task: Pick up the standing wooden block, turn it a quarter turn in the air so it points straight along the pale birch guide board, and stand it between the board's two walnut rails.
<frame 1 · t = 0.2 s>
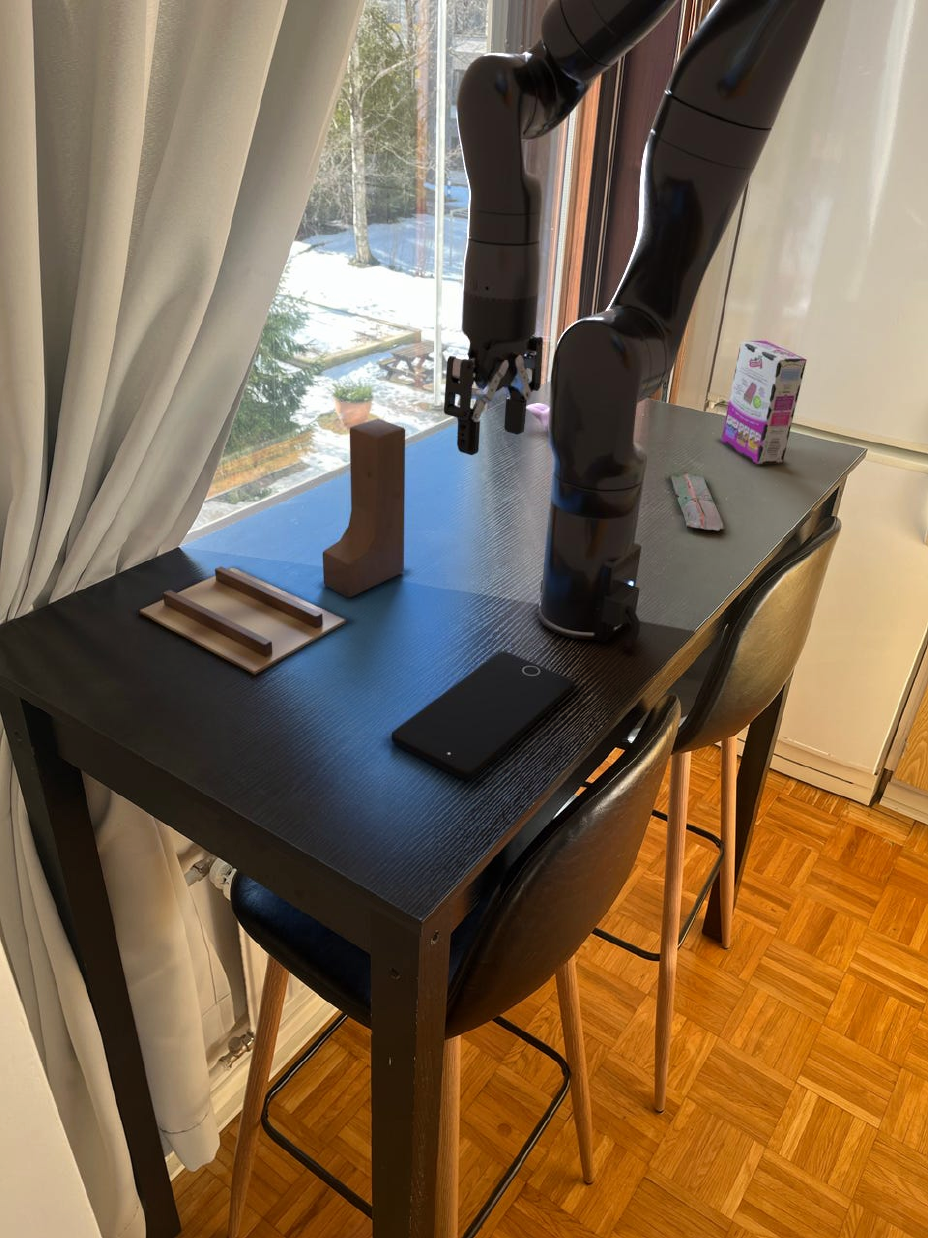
hand: (491, 442, 102), 17 cm above the table, tool pointing down, fingers open, 8 cm apart
candy bar box: (751, 453, 152), on the table
guide: (242, 618, 102), on the table
map: (695, 504, 133), on the table
wooden block: (364, 580, 111), on the table
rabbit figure: (558, 436, 155), on the table
cell phone: (486, 716, 89), on the table
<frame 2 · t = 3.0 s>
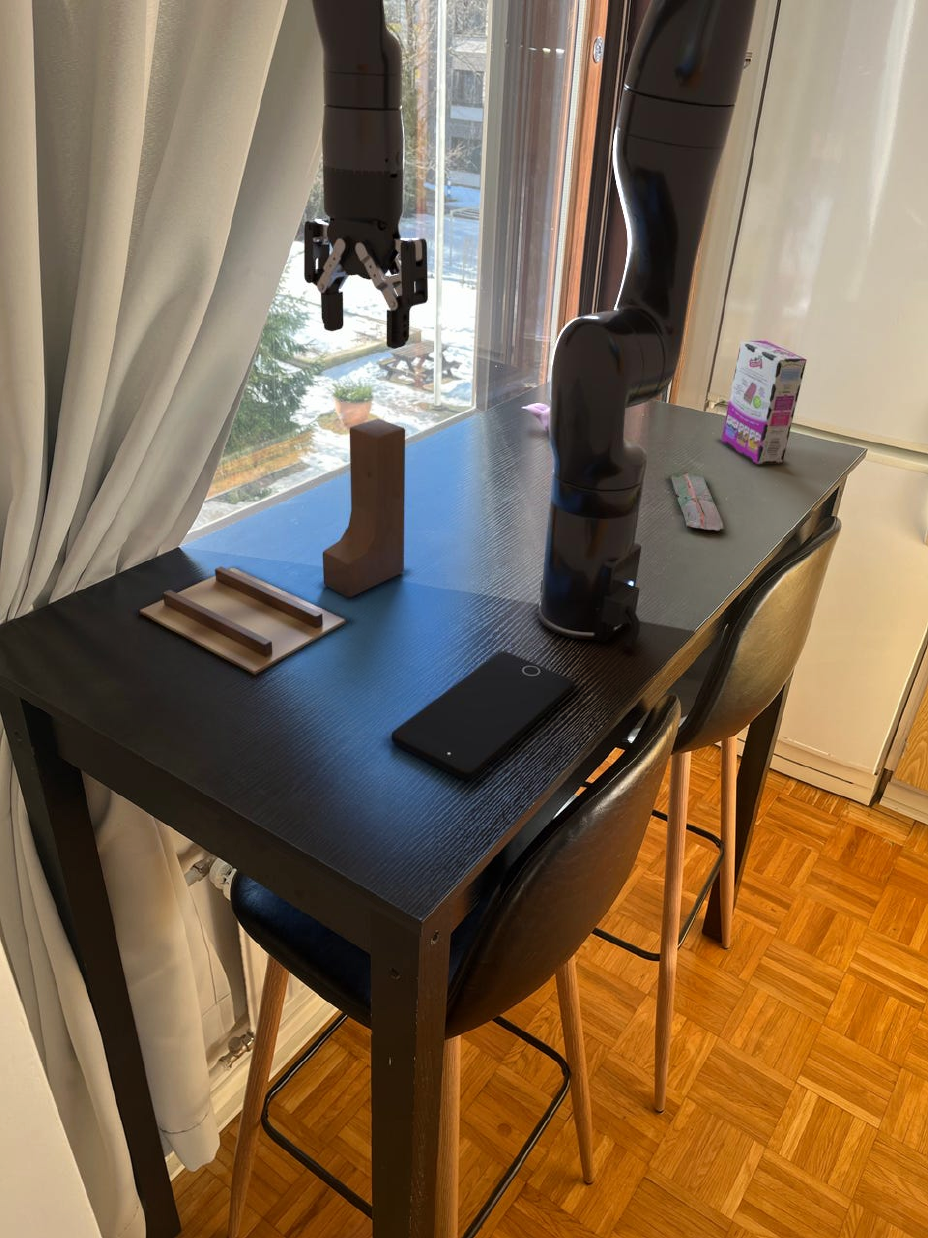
hand: (364, 337, 96), 28 cm above the table, tool pointing down, fingers open, 8 cm apart
nothing on the table moved.
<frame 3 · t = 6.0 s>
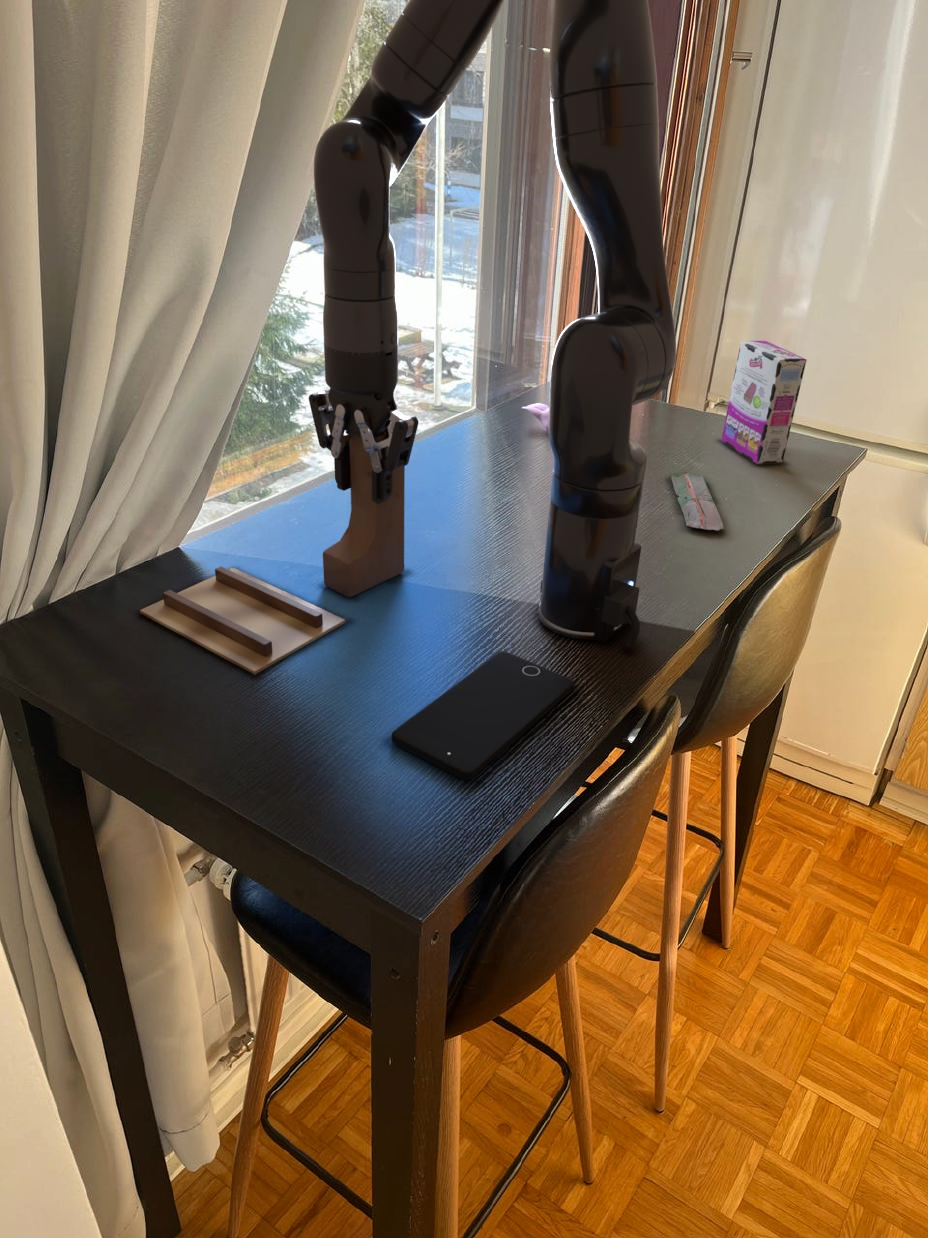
hand: (363, 493, 105), 11 cm above the table, tool pointing down, fingers closed on wooden block, 4 cm apart
wooden block: (364, 580, 111), on the table, touching gripper
everything else where it was.
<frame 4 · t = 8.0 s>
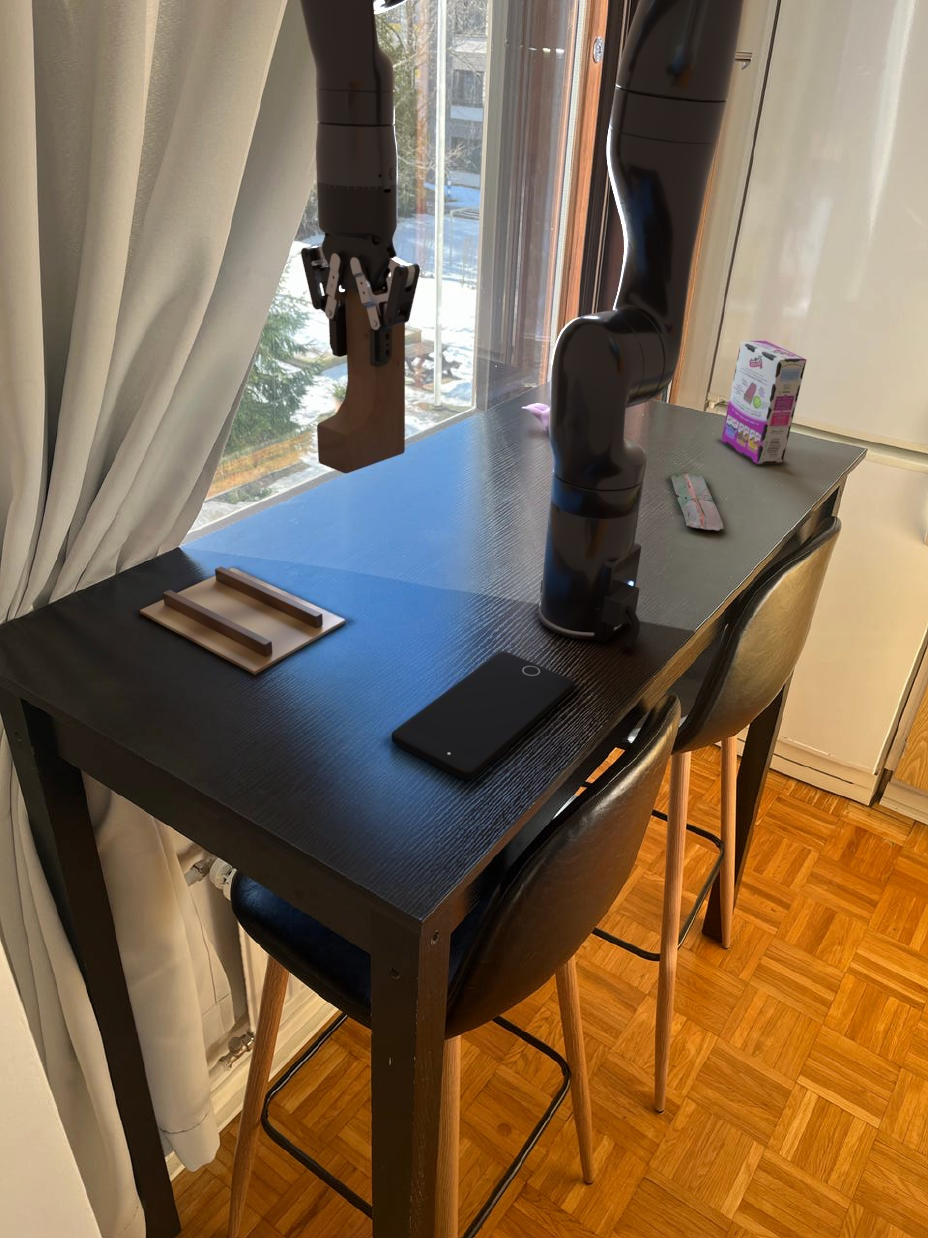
hand: (360, 359, 97), 26 cm above the table, tool pointing down, fingers closed on wooden block, 4 cm apart
wooden block: (362, 460, 103), point 15 cm above the table, touching gripper
everything else where it was.
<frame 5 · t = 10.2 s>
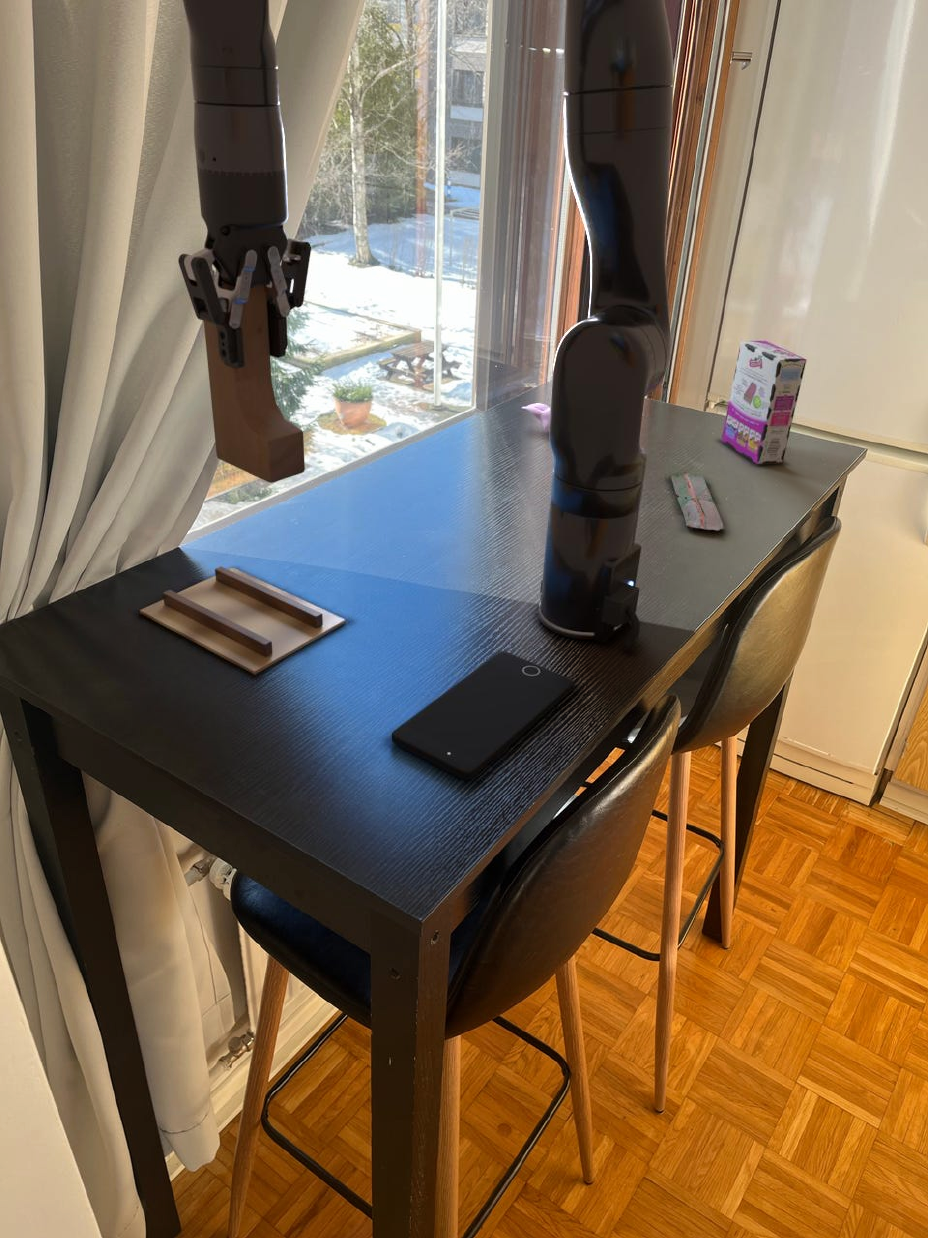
hand: (255, 359, 90), 27 cm above the table, tool pointing down, fingers closed on wooden block, 4 cm apart
wooden block: (260, 467, 96), point 16 cm above the table, touching gripper
everything else where it was.
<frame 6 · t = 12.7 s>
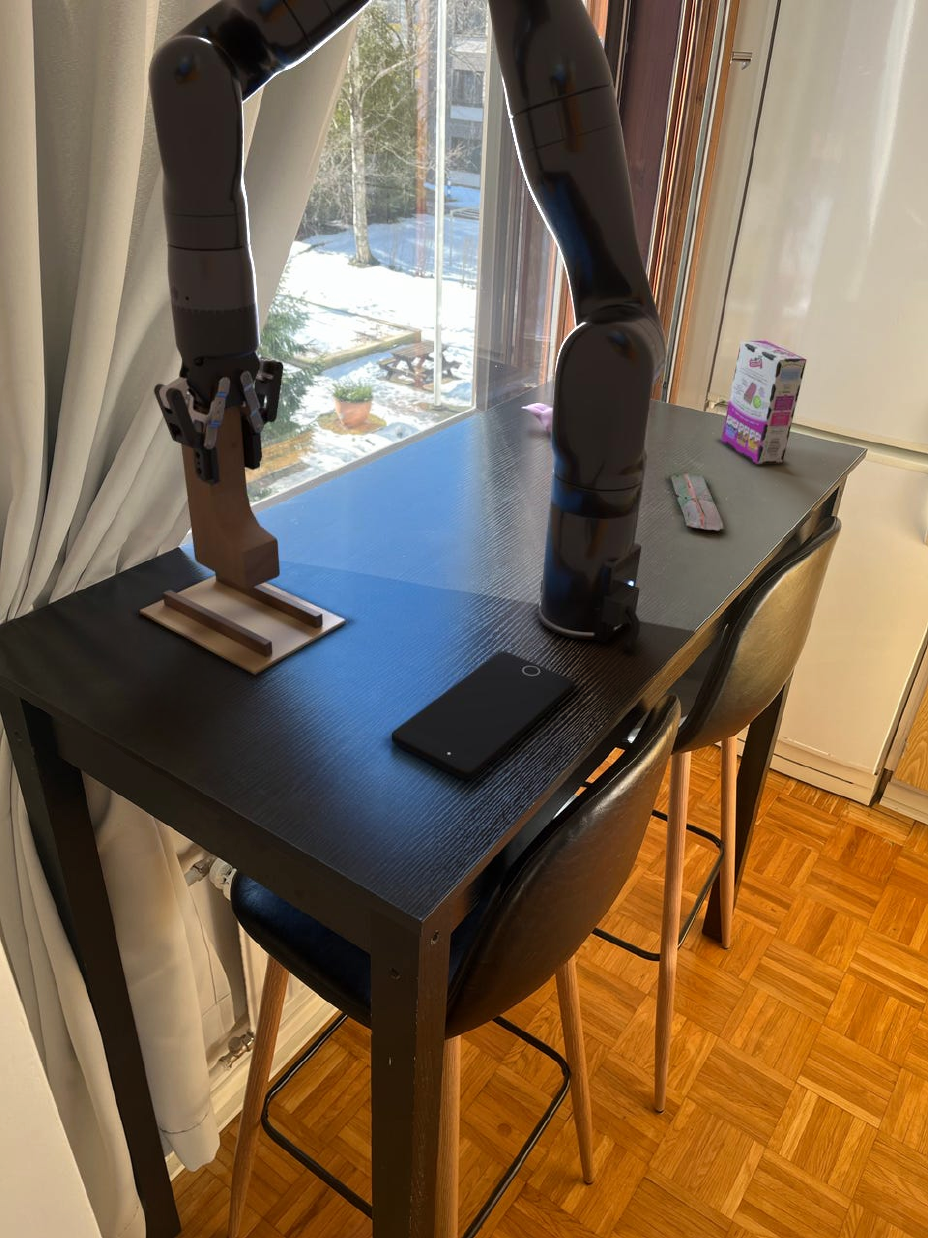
hand: (230, 473, 94), 17 cm above the table, tool pointing down, fingers closed on wooden block, 4 cm apart
wooden block: (237, 570, 99), point 6 cm above the table, touching gripper
everything else where it was.
when the fingers open (11 cm above the table, at t = 14.4 s): wooden block stays where it is, resting on guide.
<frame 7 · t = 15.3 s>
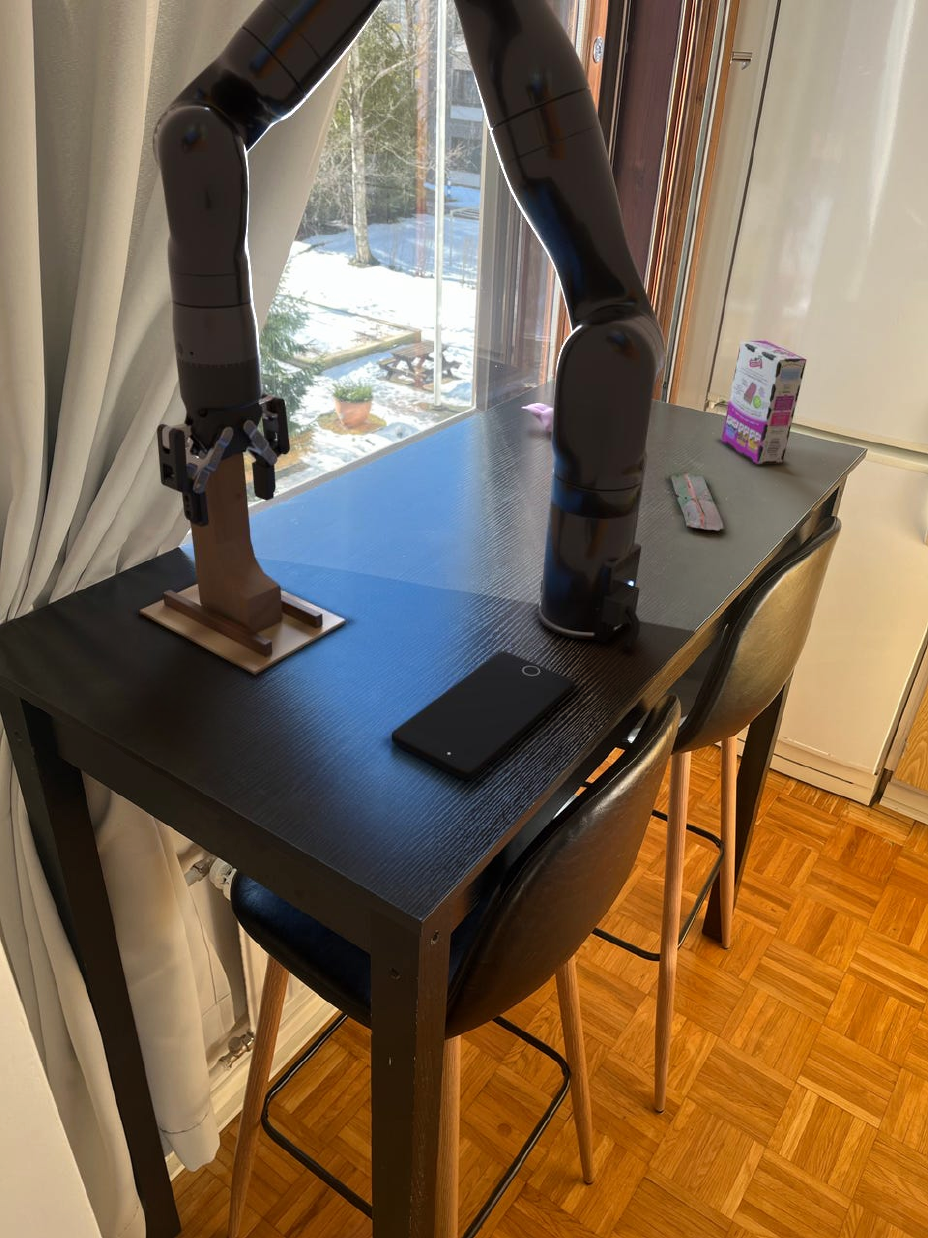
hand: (232, 510, 96), 13 cm above the table, tool pointing down, fingers open, 8 cm apart
wooden block: (241, 615, 102), resting on guide
everything else where it was.
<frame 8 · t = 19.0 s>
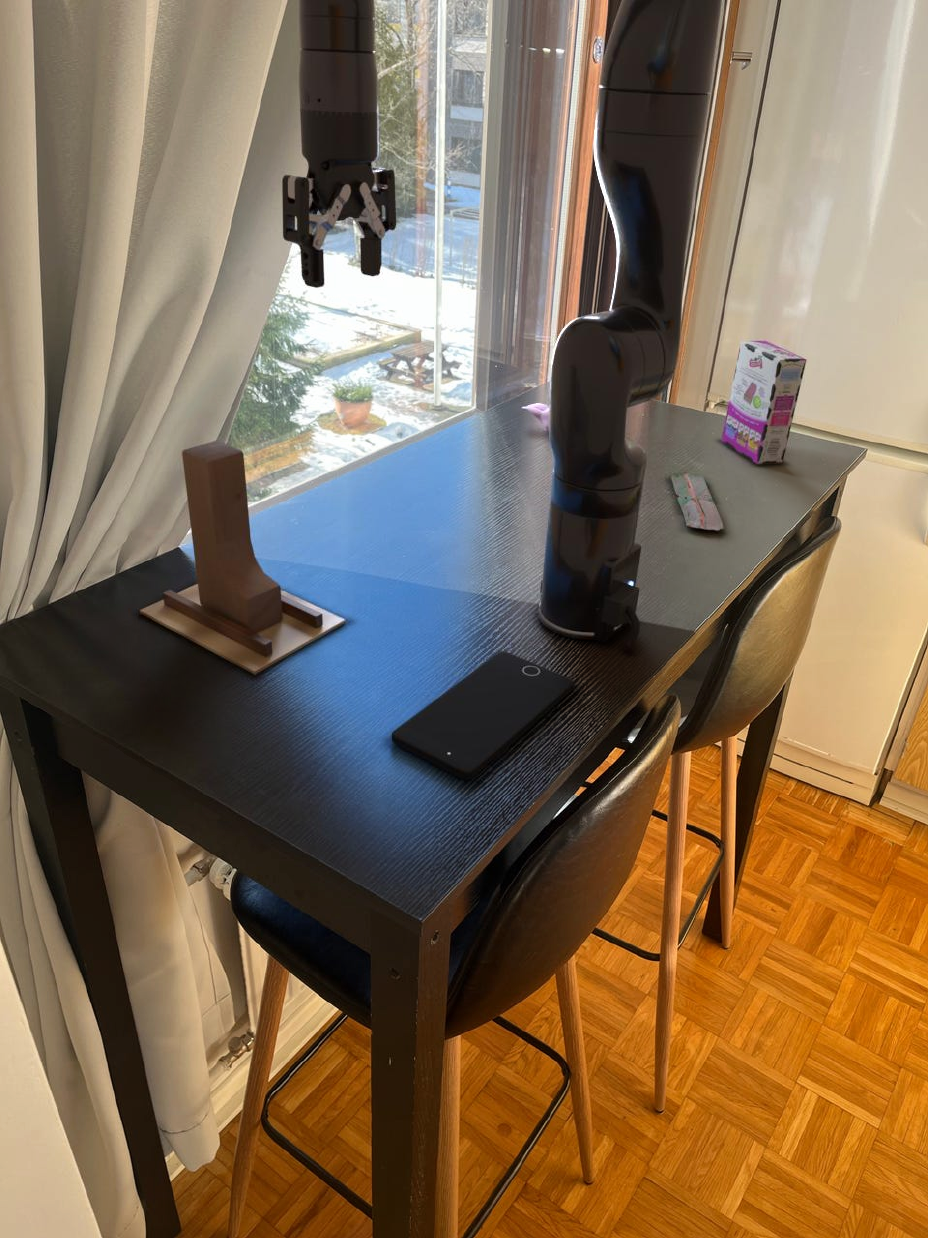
hand: (343, 280, 100), 32 cm above the table, tool pointing down, fingers open, 8 cm apart
nothing on the table moved.
at the end: wooden block inside the target area on the guide (0.3 cm from its centre), point 0.2 cm above the guide's base; wooden block tilted 0°; the gripper is holding nothing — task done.
